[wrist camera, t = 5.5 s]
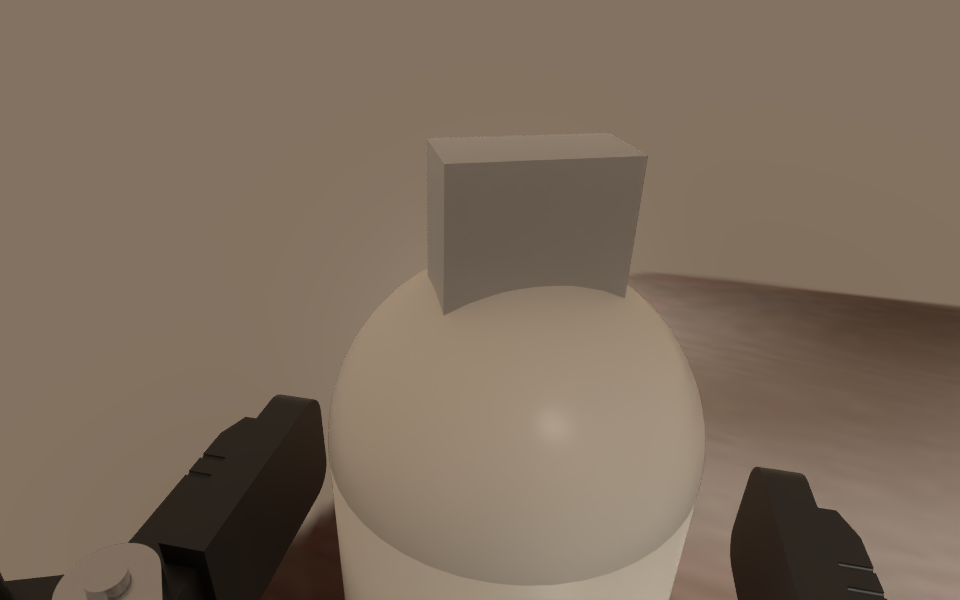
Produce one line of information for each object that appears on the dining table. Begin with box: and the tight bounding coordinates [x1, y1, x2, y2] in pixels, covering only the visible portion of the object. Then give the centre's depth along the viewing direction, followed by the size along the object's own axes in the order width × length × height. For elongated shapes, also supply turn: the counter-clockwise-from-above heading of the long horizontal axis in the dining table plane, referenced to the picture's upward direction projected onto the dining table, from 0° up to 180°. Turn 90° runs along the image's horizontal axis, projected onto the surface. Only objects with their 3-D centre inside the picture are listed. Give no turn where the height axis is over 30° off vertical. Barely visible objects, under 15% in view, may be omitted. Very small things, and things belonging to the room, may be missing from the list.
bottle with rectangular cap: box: [328, 133, 705, 600], centre depth 10 cm, size 5×5×13 cm
